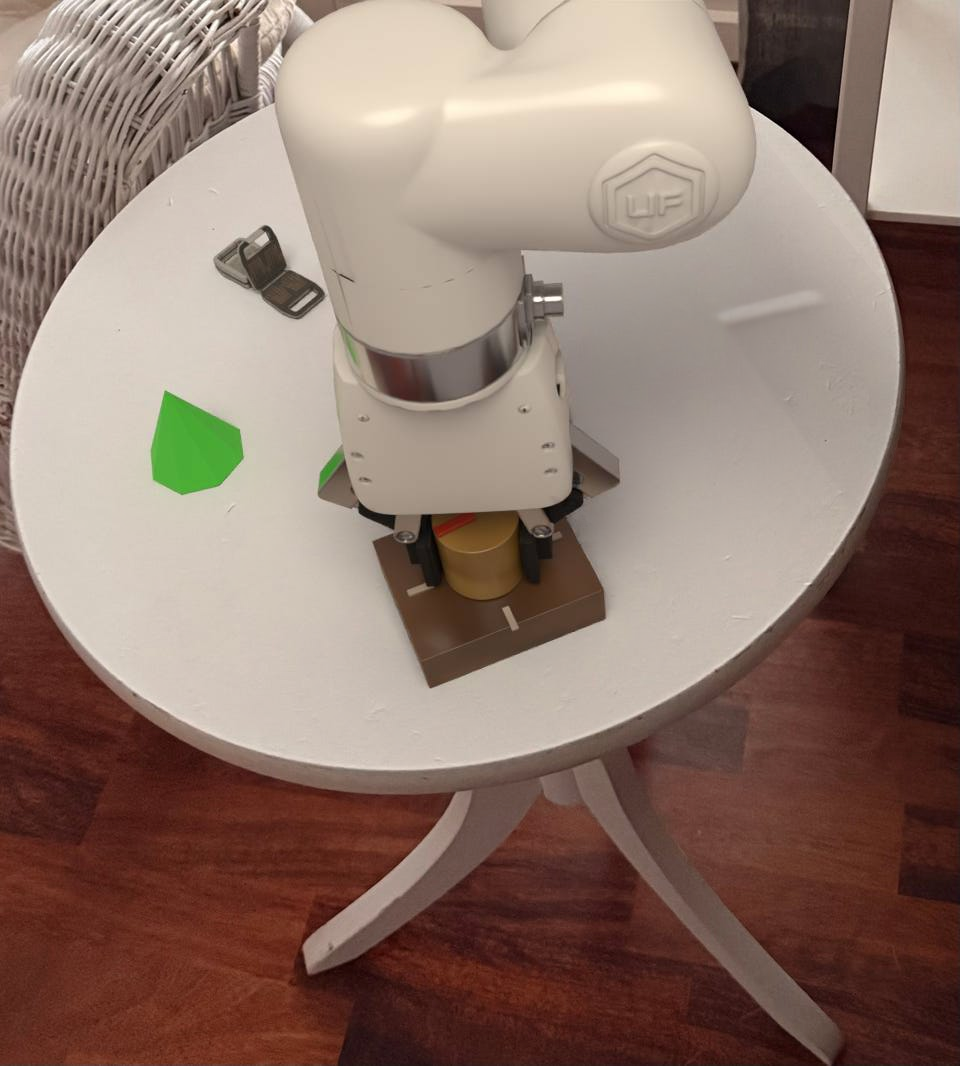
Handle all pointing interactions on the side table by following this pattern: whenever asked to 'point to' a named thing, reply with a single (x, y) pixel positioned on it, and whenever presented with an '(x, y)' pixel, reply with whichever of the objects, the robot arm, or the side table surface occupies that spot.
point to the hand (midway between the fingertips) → (483, 559)
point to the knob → (480, 552)
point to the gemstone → (192, 447)
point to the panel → (491, 609)
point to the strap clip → (267, 272)
